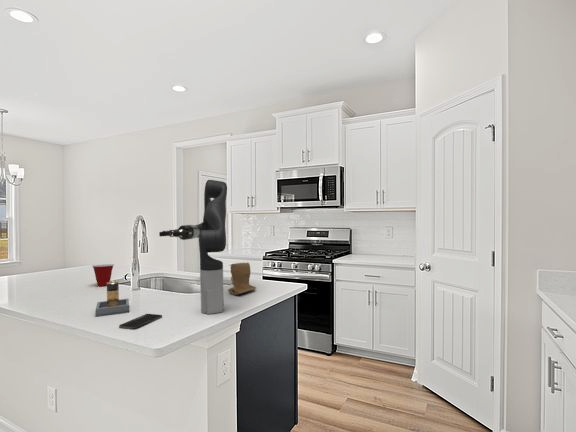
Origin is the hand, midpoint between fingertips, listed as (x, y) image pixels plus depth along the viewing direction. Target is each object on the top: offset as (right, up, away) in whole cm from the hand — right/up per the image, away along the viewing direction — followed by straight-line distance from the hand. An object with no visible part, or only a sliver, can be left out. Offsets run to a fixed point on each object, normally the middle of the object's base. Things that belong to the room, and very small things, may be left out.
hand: (166, 234), depth 168 cm
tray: (-14, -31, -23) cm, 41 cm away
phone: (+4, -31, -38) cm, 50 cm away
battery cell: (-14, -30, -23) cm, 40 cm away
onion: (+31, -29, +26) cm, 50 cm away
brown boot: (+35, -30, +6) cm, 46 cm away
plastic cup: (-45, -30, +27) cm, 60 cm away
